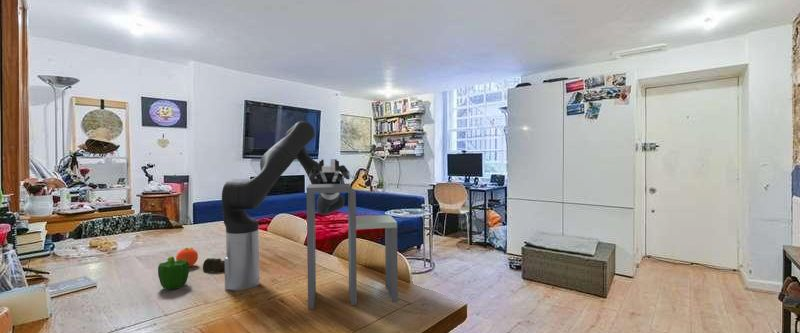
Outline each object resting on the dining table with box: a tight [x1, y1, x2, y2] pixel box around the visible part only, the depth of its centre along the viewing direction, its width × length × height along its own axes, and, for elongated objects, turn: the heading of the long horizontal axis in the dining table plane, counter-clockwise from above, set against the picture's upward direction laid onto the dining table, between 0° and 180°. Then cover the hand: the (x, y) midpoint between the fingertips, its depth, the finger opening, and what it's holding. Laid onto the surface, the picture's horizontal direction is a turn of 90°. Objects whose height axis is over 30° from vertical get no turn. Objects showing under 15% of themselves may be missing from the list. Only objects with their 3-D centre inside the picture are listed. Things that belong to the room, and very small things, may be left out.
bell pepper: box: [157, 256, 190, 290], centre depth 107 cm, size 8×8×10 cm
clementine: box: [175, 247, 199, 268], centre depth 128 cm, size 8×7×7 cm
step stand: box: [306, 183, 399, 310], centre depth 99 cm, size 24×12×32 cm, turn 101°
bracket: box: [322, 158, 335, 172], centre depth 103 cm, size 4×20×4 cm, turn 11°
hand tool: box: [202, 257, 225, 273], centre depth 123 cm, size 19×4×5 cm, turn 85°
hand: (329, 162), depth 108 cm, fingers closed on bracket, 3 cm apart
